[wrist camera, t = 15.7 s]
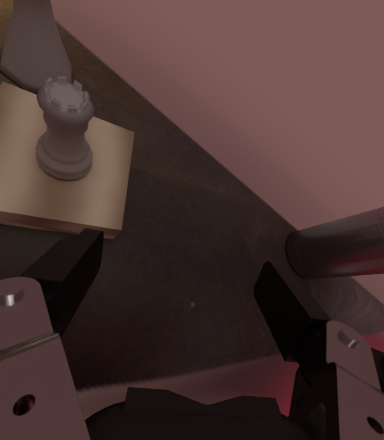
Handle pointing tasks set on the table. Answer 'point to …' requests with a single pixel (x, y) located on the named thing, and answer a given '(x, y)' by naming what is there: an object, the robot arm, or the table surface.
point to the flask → (34, 46)
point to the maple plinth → (57, 187)
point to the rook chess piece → (64, 129)
